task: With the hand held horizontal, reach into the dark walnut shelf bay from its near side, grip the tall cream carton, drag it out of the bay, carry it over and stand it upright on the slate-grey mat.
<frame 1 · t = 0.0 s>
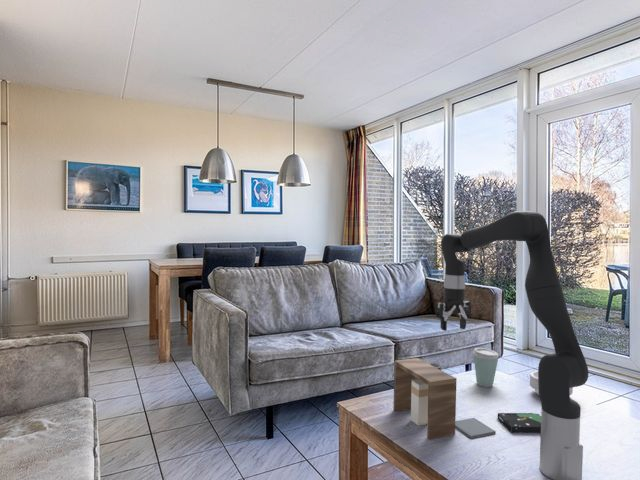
hand: (453, 329, 153), 29 cm above the table, tool pointing down, fingers open, 8 cm apart
disk drive: (525, 427, 139), on the table
disposable coffee cup: (484, 385, 176), on the table
carton: (419, 421, 141), on the table
paper bowls: (550, 396, 165), on the table
mat: (472, 428, 136), on the table
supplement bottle: (433, 395, 164), on the table
shelf bay: (422, 421, 141), on the table
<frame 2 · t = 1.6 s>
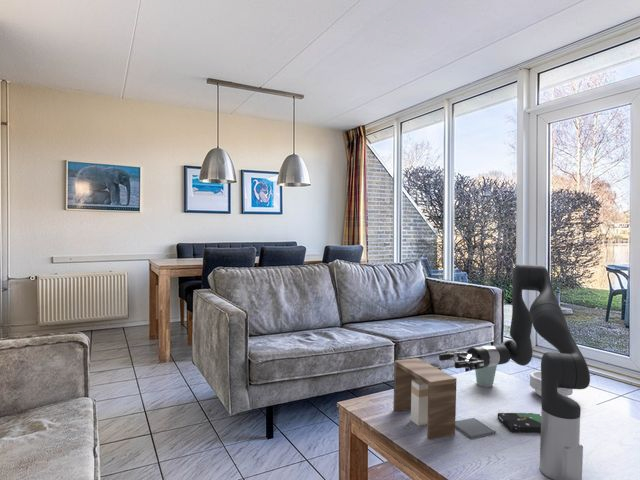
hand: (447, 361, 144), 20 cm above the table, tool horizontal, fingers open, 8 cm apart
nothing on the table moved.
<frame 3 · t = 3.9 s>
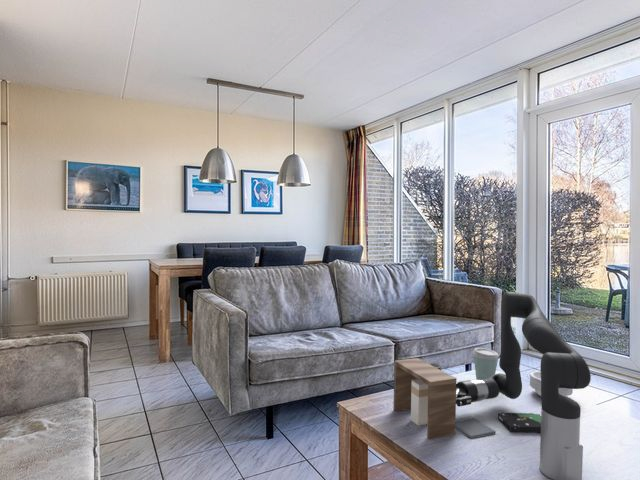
hand: (434, 396, 143), 8 cm above the table, tool horizontal, fingers open, 8 cm apart
nothing on the table moved.
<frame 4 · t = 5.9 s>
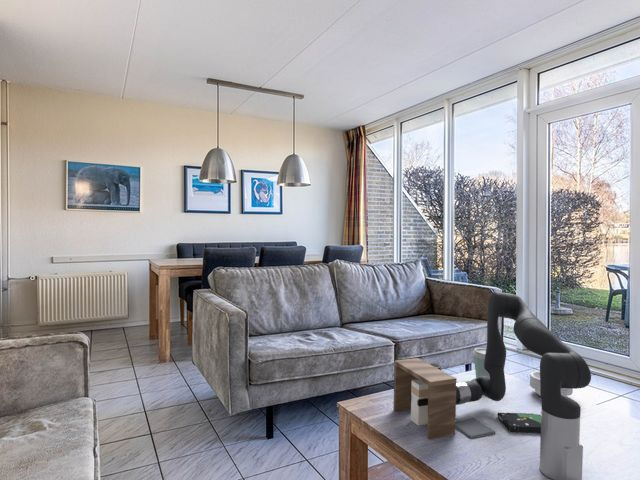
hand: (413, 400, 140), 8 cm above the table, tool horizontal, fingers closed on carton, 4 cm apart
carton: (419, 421, 141), on the table, touching gripper
everything else where it was.
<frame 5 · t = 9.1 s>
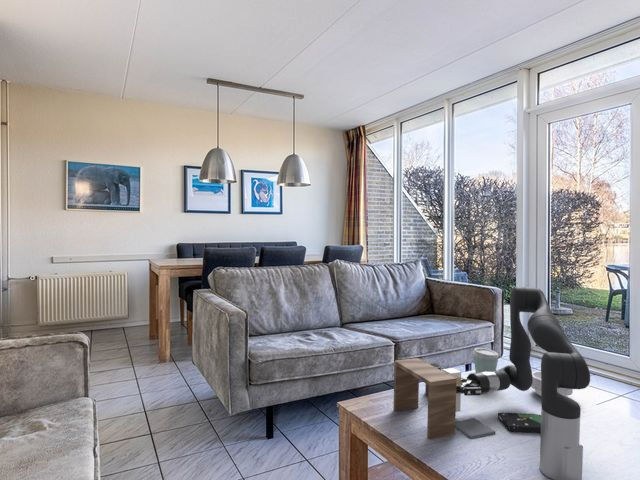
hand: (445, 388, 144), 11 cm above the table, tool horizontal, fingers closed on carton, 4 cm apart
carton: (450, 409, 145), point 3 cm above the table, touching gripper
everything else where it was.
when the fingers open (10 cm above the table, at t = 12.2 s): carton drops 1 cm, resting on mat.
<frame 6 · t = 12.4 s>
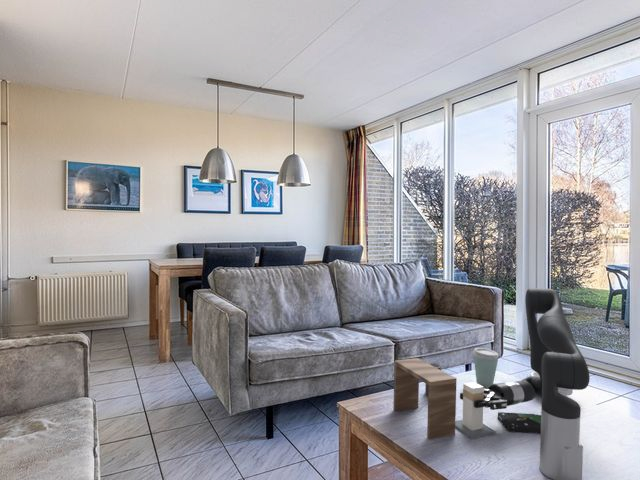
hand: (467, 400, 135), 10 cm above the table, tool horizontal, fingers open, 6 cm apart
carton: (472, 426, 136), point 1 cm above the table, touching mat
everything else where it was.
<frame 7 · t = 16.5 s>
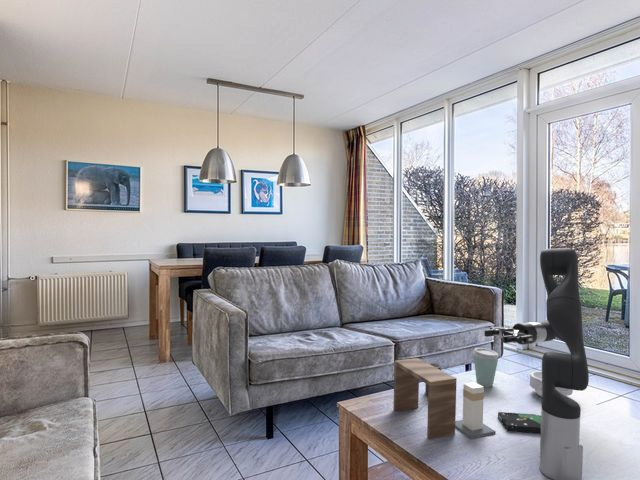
hand: (494, 336, 141), 30 cm above the table, tool horizontal, fingers open, 8 cm apart
nothing on the table moved.
at the end: carton inside the target area on the mat (0.1 cm from its centre), point 0.8 cm above the mat's base; carton tilted 0°; the gripper is holding nothing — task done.
